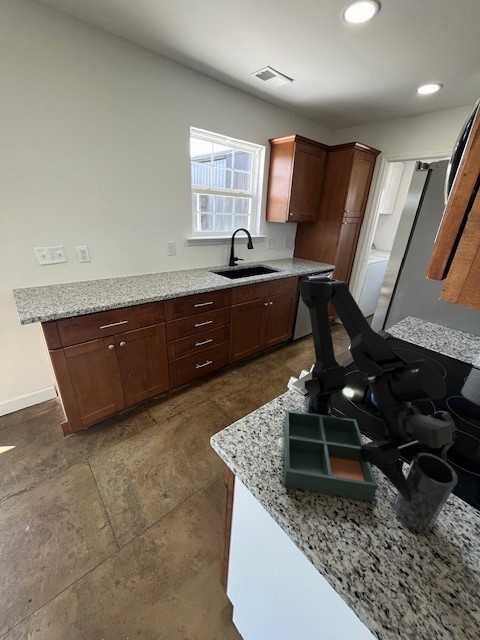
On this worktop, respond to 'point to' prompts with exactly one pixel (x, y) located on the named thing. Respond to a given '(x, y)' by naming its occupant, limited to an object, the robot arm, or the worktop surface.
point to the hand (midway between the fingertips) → (427, 492)
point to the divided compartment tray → (326, 456)
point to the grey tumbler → (425, 491)
